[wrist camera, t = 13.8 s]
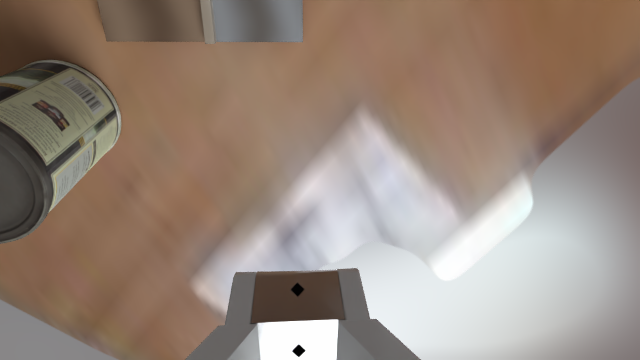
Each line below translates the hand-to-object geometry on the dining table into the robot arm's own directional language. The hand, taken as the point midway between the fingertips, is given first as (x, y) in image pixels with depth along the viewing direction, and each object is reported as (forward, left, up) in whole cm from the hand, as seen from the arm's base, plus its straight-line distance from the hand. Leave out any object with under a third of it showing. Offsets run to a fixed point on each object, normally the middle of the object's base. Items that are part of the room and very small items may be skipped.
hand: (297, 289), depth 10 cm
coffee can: (+22, +6, -31) cm, 39 cm away
